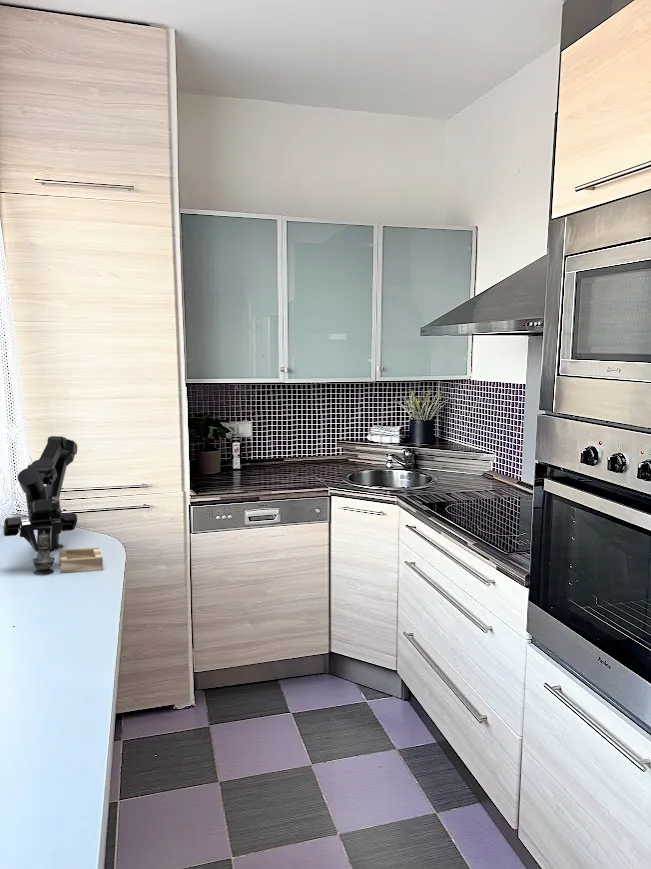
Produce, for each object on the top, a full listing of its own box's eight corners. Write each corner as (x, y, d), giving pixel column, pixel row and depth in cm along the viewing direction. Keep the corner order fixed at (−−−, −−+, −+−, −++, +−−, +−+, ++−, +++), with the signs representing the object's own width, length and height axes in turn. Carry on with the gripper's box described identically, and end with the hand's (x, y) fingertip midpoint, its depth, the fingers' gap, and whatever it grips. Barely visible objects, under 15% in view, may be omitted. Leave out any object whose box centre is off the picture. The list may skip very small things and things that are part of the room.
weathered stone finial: (46, 576, 180) (46, 533, 179) (27, 574, 181) (27, 531, 180) (59, 570, 186) (59, 528, 184) (40, 567, 187) (40, 526, 186)
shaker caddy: (59, 561, 193) (59, 549, 193) (98, 558, 198) (98, 547, 197) (60, 573, 183) (61, 561, 183) (102, 570, 188) (102, 558, 187)
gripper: (4, 489, 179) (10, 539, 171) (76, 485, 189) (85, 532, 181) (0, 511, 187) (6, 560, 179) (70, 506, 197) (78, 552, 189)
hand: (44, 550), depth 182 cm, fingers closed on weathered stone finial, 4 cm apart
